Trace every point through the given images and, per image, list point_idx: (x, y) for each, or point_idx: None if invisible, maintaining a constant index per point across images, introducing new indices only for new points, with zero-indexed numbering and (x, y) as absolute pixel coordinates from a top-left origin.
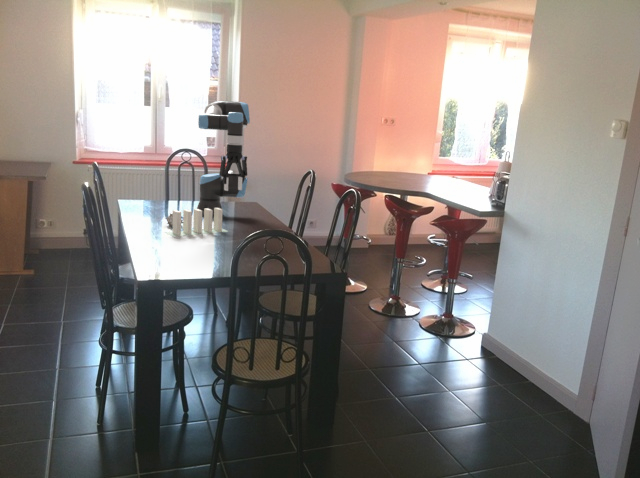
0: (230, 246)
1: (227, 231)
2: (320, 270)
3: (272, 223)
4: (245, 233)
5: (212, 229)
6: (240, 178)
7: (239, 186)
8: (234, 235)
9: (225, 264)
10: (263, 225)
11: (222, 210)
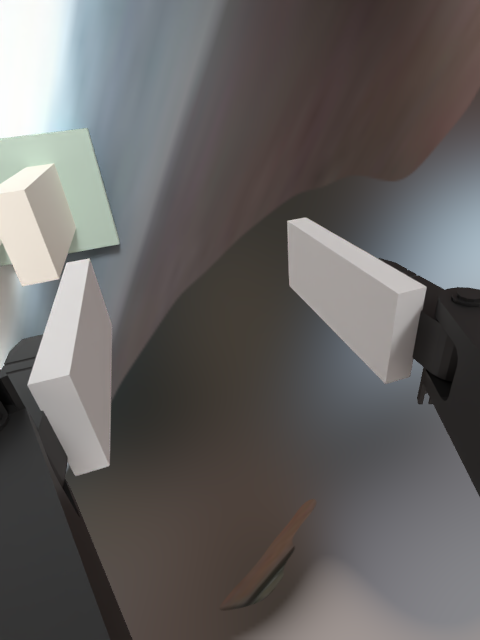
0: None
1: (109, 242)
2: (232, 597)
3: (473, 26)
4: (208, 253)
5: (17, 169)
6: (373, 356)
7: (307, 274)
8: (136, 286)
9: None
10: (394, 72)
11: (59, 276)
